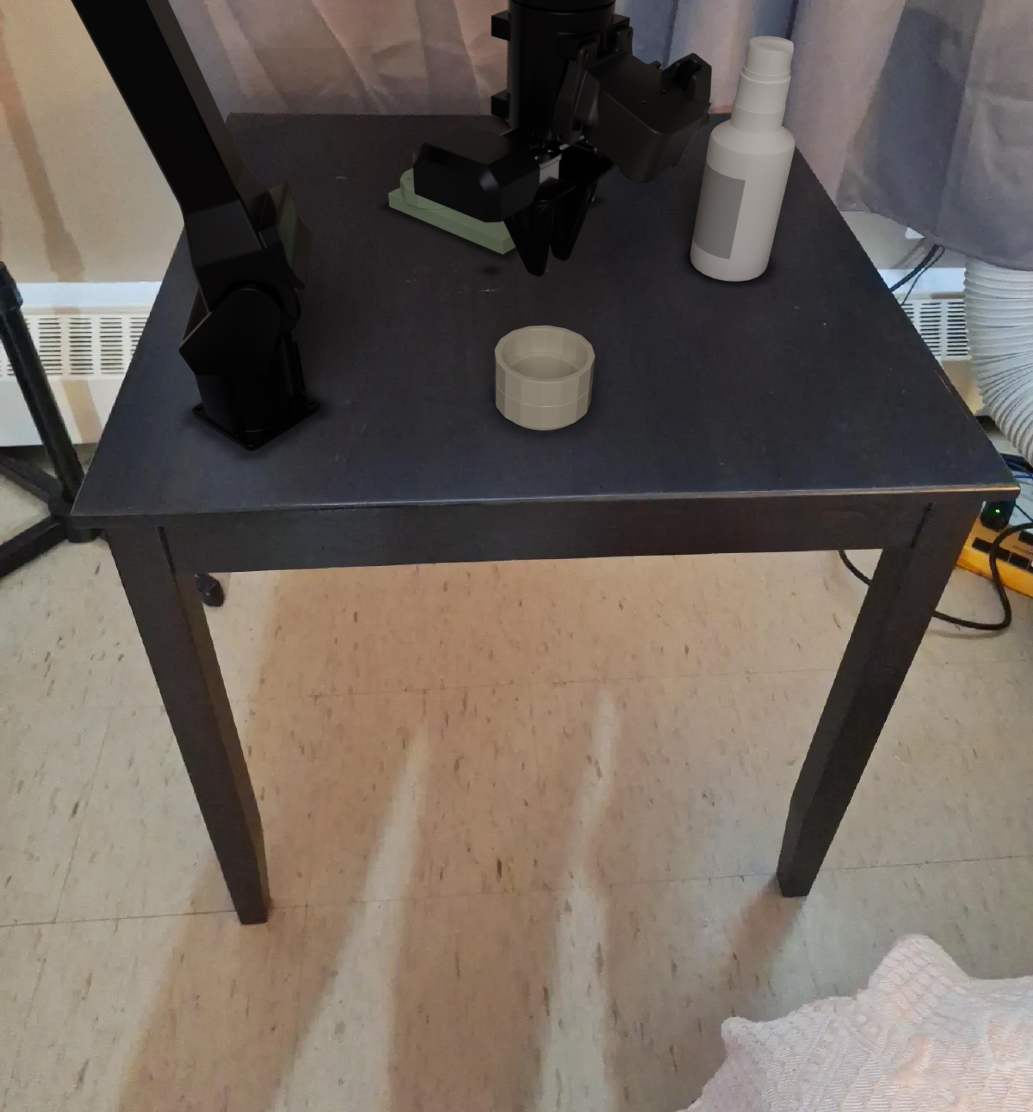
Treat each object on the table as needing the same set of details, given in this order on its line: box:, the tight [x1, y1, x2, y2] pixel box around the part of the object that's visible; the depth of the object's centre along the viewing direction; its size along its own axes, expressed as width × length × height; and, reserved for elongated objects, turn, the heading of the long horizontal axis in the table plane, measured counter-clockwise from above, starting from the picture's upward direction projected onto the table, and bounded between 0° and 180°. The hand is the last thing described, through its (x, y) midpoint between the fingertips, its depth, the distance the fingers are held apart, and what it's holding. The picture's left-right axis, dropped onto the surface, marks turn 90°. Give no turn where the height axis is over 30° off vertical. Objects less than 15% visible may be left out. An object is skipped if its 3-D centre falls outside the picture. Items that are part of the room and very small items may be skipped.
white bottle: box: [689, 35, 796, 282], centre depth 77 cm, size 7×7×18 cm
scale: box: [388, 167, 595, 255], centre depth 89 cm, size 14×14×3 cm
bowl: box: [493, 324, 596, 431], centre depth 67 cm, size 7×7×4 cm
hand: (548, 266), depth 61 cm, fingers closed
